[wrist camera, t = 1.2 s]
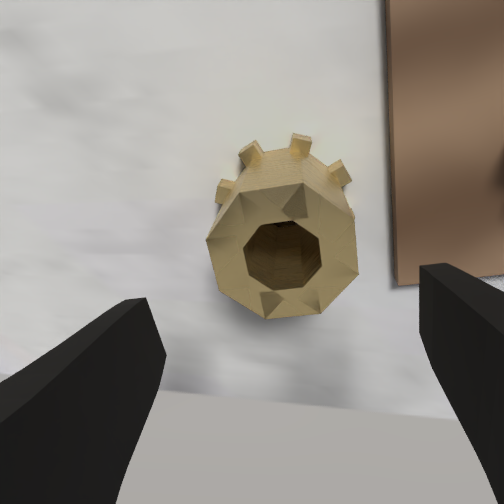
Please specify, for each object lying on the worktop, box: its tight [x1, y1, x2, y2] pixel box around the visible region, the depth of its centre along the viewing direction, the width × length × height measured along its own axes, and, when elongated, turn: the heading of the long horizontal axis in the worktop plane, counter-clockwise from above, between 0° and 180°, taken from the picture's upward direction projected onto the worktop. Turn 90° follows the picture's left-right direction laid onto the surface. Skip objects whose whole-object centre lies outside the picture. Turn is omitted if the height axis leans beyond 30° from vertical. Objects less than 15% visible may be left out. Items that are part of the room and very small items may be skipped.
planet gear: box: [206, 133, 359, 319], centre depth 16 cm, size 6×6×6 cm
